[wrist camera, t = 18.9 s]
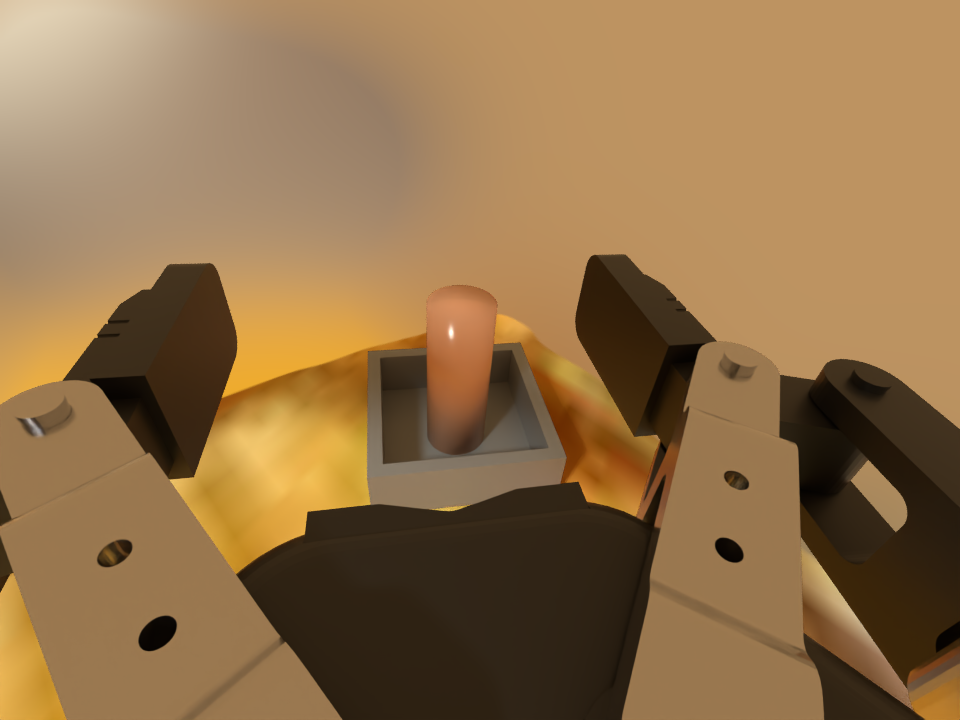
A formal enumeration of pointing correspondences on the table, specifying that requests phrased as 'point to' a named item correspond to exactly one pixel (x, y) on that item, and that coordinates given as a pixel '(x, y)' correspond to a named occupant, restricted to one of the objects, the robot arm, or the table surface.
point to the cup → (458, 366)
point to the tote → (468, 477)
